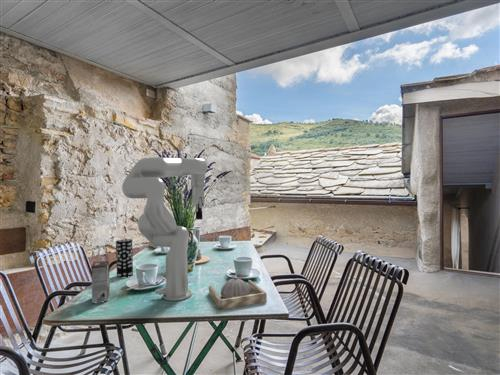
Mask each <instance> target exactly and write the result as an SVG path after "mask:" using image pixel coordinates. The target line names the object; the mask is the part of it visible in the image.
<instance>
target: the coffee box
mask: <svg viewBox="0 0 500 375" xmlns="http://www.w3.org/2000/svg"><path fill="white" fill-rule="evenodd" d="M90 268H91V304H92V303H95V302H102V301H108V302H109V300H108V299H110V296H109V295H111V293H110V292H111V289H110V288H111V285H110V284H111V283H110V281H111V280H110V260H99V261H94V262H93V263H92V265H91V267H90Z"/></svg>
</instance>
